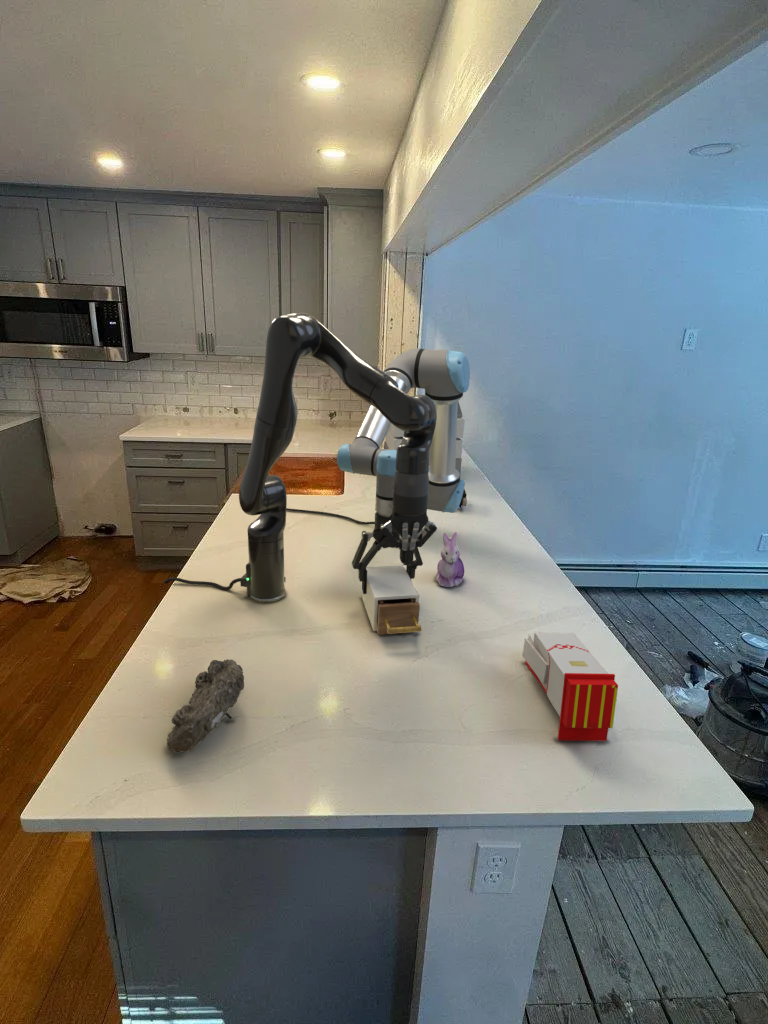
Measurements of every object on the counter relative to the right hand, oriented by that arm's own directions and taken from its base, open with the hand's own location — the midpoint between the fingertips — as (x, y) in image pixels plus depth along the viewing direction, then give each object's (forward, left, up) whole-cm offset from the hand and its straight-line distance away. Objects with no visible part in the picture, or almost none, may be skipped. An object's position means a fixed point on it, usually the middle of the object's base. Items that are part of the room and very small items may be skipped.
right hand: (386, 590), depth 150 cm
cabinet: (+3, -2, -5) cm, 6 cm away
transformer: (-88, +98, -5) cm, 132 cm away
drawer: (+9, -5, -4) cm, 11 cm away
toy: (+50, +5, -5) cm, 51 cm away
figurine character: (-45, +77, -5) cm, 89 cm away
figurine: (0, +25, -5) cm, 25 cm away
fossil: (+13, -55, -5) cm, 56 cm away
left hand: (+16, -9, +16) cm, 25 cm away
